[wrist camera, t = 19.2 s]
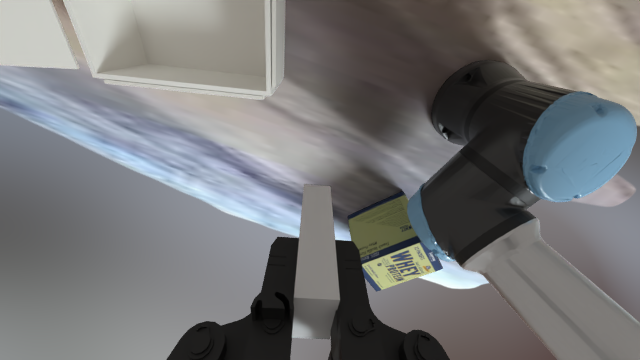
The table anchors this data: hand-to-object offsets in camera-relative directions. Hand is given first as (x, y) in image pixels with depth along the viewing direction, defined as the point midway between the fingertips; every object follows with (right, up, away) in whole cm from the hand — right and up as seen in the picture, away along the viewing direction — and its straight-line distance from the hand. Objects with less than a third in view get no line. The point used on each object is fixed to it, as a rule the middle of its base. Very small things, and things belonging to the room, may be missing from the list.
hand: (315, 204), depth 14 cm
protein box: (+16, -8, +47) cm, 50 cm away
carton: (-17, +28, +22) cm, 40 cm away
